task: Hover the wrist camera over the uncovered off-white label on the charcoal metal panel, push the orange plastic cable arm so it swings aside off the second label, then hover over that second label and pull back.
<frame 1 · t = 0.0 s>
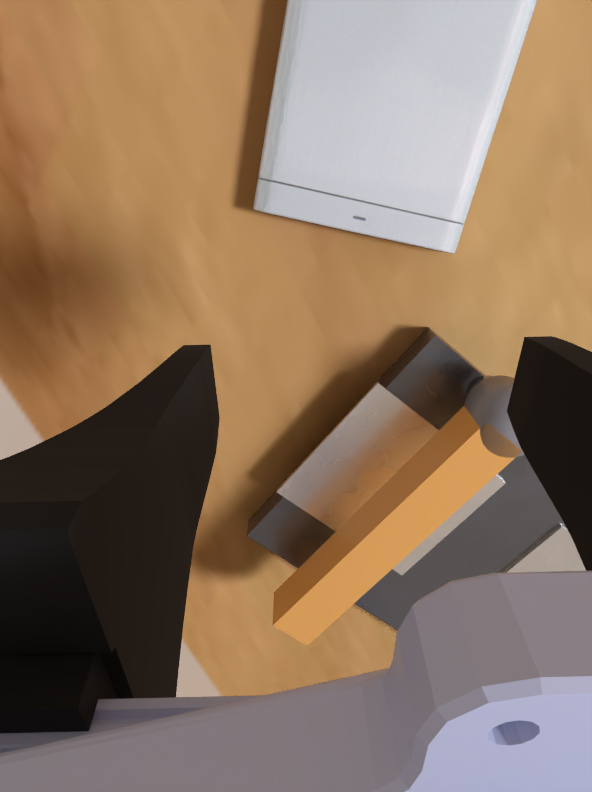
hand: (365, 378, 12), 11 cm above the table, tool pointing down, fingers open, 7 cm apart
psu panel: (504, 557, 28), on the table
cable arm: (398, 516, 22), point 4 cm above the table, hinge at 0.0°
hard drive: (393, 57, 19), on the table
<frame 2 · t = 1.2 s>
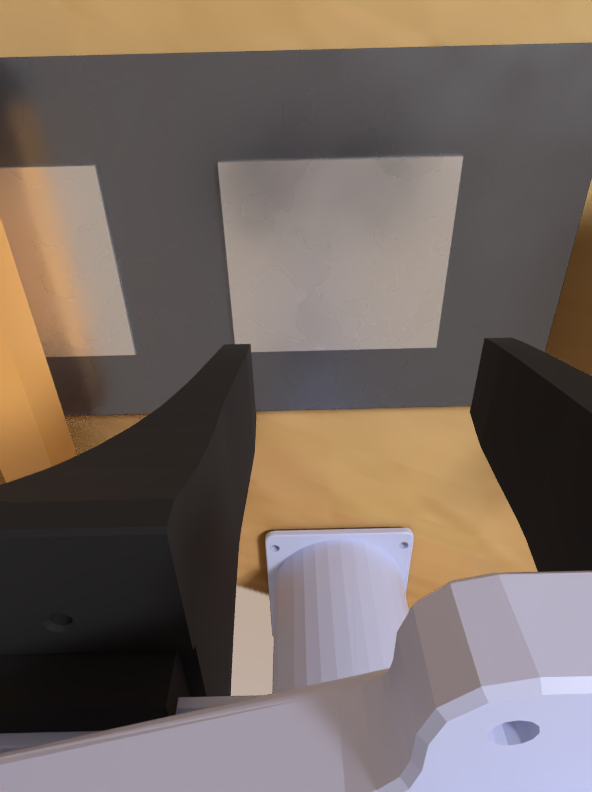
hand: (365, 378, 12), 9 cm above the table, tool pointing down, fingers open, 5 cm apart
psu panel: (244, 254, 20), on the table
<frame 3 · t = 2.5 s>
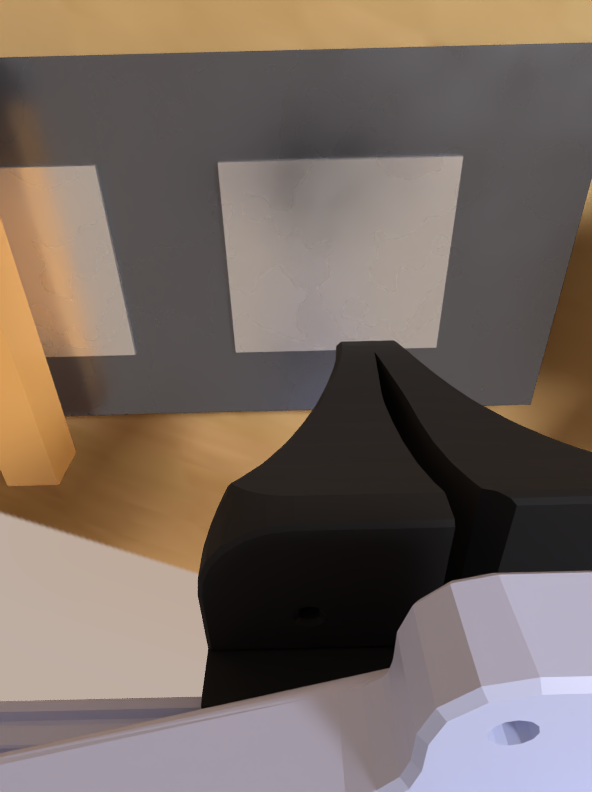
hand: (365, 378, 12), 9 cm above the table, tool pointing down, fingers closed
psu panel: (244, 254, 20), on the table
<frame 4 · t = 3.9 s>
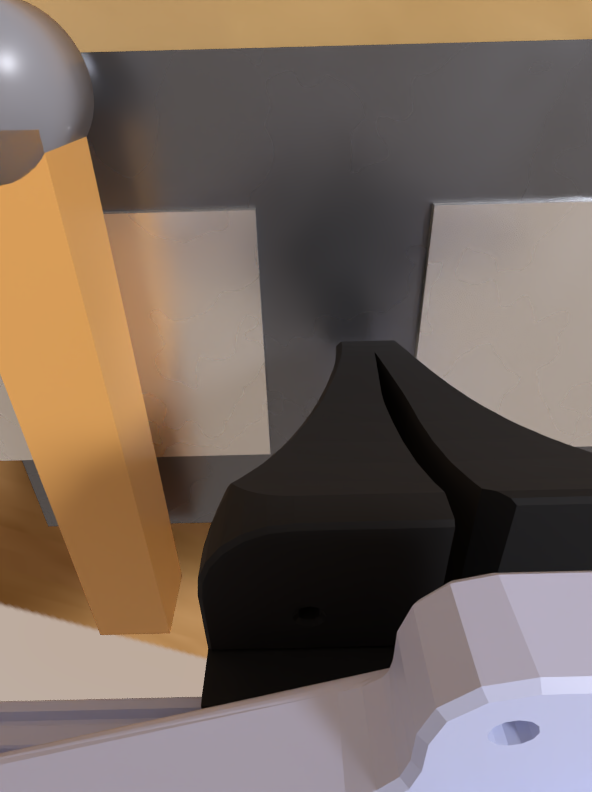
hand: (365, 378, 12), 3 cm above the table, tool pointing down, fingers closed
psu panel: (425, 322, 15), on the table
cable arm: (84, 401, 12), point 4 cm above the table, hinge at 0.0°
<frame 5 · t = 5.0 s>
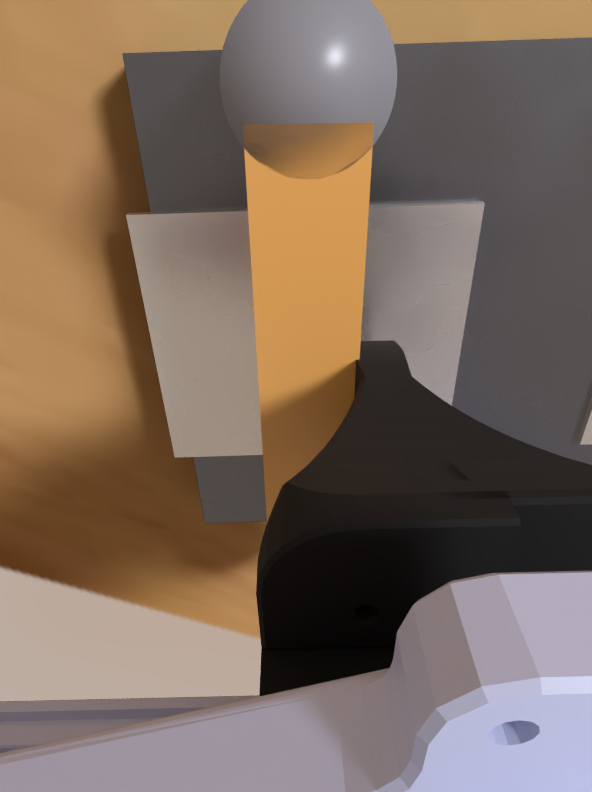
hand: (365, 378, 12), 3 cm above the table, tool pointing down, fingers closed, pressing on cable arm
cable arm: (306, 396, 12), point 3 cm above the table, hinge at 0.9°, touching gripper
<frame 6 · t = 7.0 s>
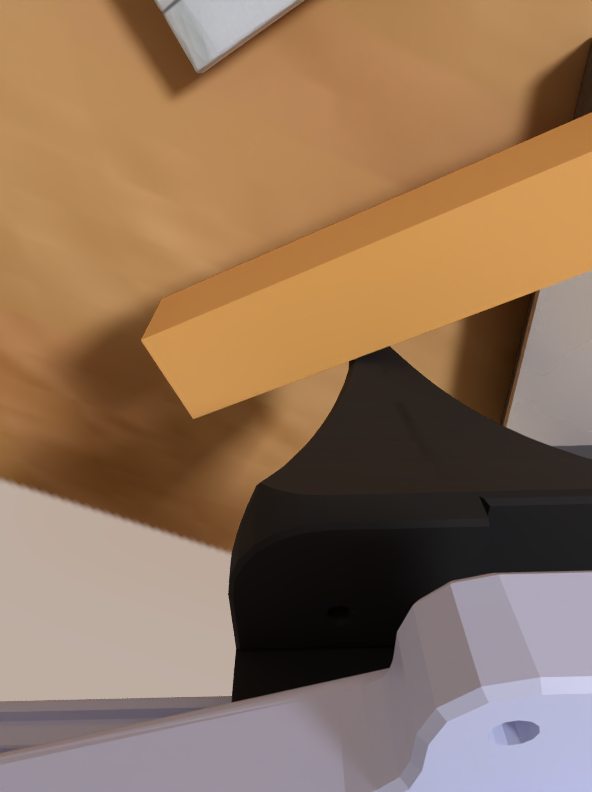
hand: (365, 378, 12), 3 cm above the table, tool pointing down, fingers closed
cable arm: (526, 216, 10), point 3 cm above the table, hinge at 68.0°, touching gripper
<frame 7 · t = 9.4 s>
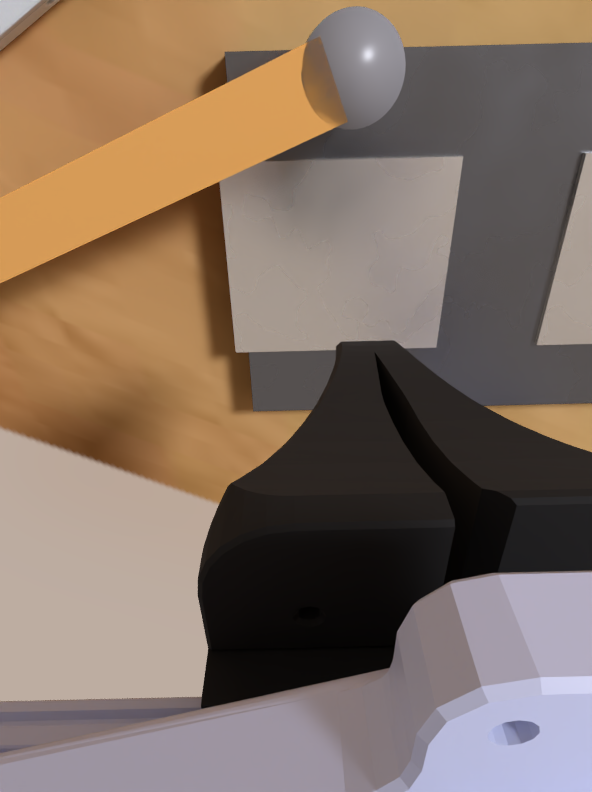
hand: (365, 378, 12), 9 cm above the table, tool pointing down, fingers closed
psu panel: (556, 246, 20), on the table
cable arm: (150, 167, 15), point 3 cm above the table, hinge at 68.4°
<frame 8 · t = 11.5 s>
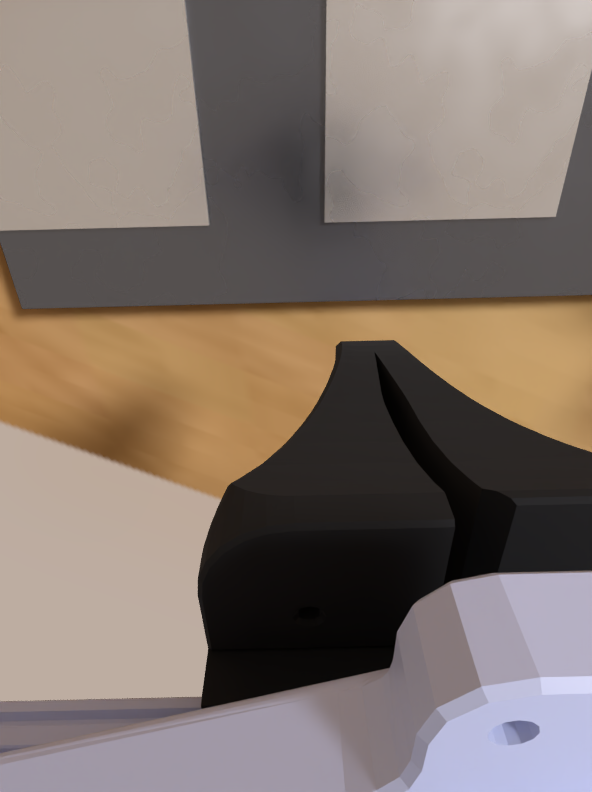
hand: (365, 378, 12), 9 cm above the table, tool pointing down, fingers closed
psu panel: (338, 103, 17), on the table
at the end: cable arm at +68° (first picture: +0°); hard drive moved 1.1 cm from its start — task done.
